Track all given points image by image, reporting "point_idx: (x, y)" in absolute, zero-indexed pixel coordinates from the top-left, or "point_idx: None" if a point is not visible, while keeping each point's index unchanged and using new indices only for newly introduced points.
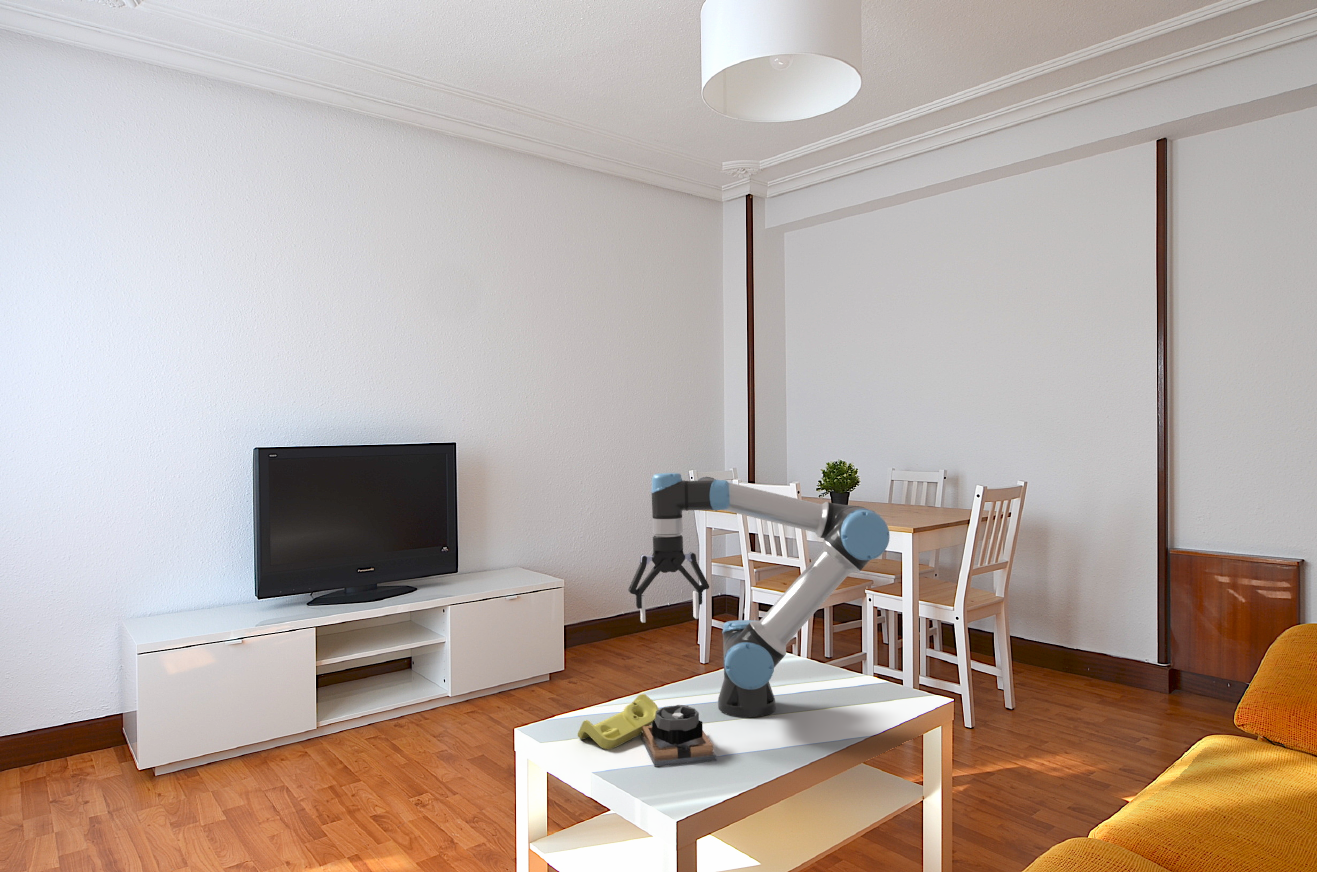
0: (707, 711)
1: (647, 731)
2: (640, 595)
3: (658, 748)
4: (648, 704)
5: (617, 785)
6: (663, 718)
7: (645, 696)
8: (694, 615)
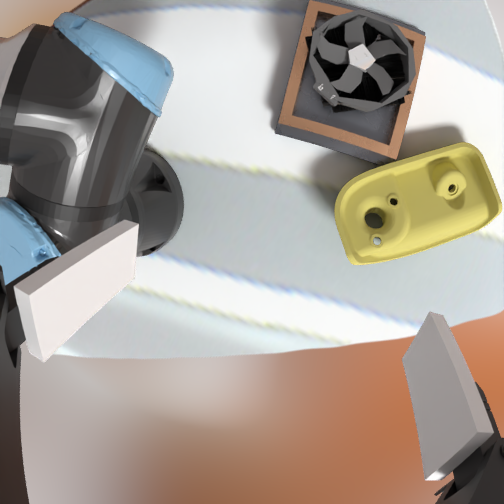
0: (205, 221)
1: (399, 127)
2: (500, 439)
3: (415, 40)
4: (346, 230)
5: (490, 23)
6: (407, 44)
7: (349, 247)
8: (130, 259)
